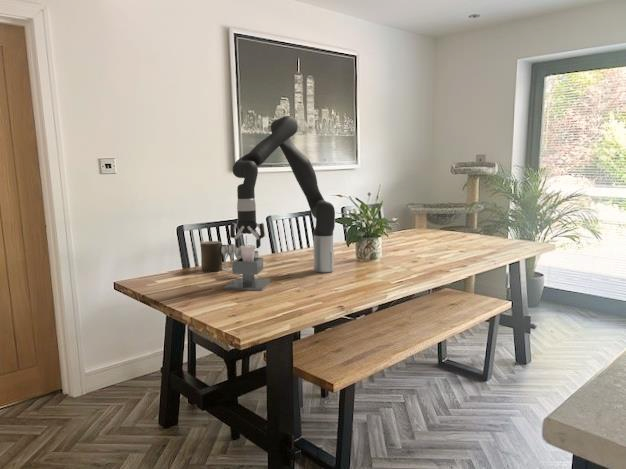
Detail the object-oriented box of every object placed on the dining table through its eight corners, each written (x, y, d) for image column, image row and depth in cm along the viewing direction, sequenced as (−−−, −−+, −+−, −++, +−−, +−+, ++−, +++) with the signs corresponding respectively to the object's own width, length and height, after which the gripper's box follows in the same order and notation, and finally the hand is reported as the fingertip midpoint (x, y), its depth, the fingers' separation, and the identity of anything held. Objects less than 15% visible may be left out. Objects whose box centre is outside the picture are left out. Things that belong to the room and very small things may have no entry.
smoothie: (241, 267, 209) (240, 235, 207) (256, 267, 210) (255, 234, 207) (240, 270, 203) (239, 237, 200) (255, 270, 203) (254, 237, 201)
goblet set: (262, 277, 220) (261, 248, 218) (252, 279, 216) (251, 250, 214) (227, 268, 240) (226, 241, 238) (217, 270, 236) (216, 243, 234)
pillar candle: (217, 272, 230) (217, 241, 228) (198, 272, 232) (197, 241, 230) (225, 268, 240) (224, 238, 238) (206, 268, 241) (205, 238, 239)
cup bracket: (271, 281, 214) (270, 256, 212) (262, 290, 198) (261, 264, 196) (236, 280, 216) (235, 255, 214) (224, 289, 200) (223, 263, 199)
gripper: (265, 208, 205) (266, 246, 207) (232, 208, 207) (234, 246, 209) (261, 210, 197) (262, 249, 200) (227, 210, 199) (228, 249, 202)
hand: (247, 247), depth 205 cm, fingers open, 8 cm apart
